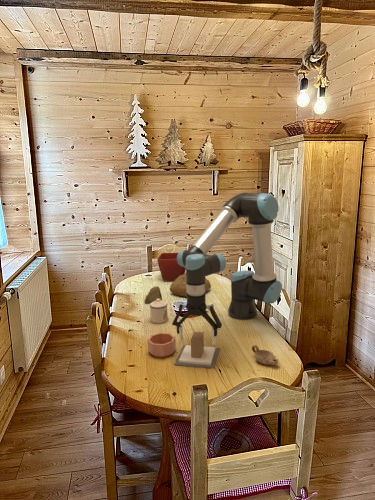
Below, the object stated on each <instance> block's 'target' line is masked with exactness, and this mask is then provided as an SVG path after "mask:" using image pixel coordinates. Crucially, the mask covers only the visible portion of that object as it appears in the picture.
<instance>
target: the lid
mask: <svg viewBox="0 0 375 500" xmlns="http://www.w3.org/2000/svg"><path fill="white" fill-rule="evenodd" d="M204 337H205V336H204V331H203V332H201V331H193V334H192V335H191V338H190V344H189V345H187V344H185V345H186V346H185V348H184V350H183V352H182V354H181V357H180V359H179V362H180V363H191V364H202V365H211V363H212V359H213V356H214V353H215V348H216V346H215V347H214V346H205V344H204V343H205V339H204Z"/></svg>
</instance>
